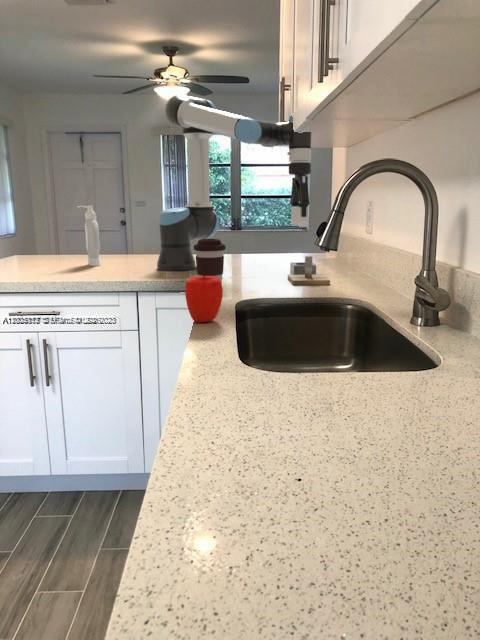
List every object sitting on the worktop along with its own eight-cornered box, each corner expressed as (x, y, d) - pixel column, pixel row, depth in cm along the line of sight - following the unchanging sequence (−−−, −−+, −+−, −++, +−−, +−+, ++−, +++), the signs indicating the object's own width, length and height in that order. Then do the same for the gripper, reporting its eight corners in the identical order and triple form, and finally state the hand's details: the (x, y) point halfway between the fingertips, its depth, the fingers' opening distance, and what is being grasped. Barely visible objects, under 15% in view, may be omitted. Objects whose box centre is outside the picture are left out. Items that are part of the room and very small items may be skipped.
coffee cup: (221, 290, 155) (221, 241, 152) (191, 289, 157) (189, 240, 154) (229, 284, 165) (228, 238, 161) (199, 283, 167) (198, 238, 163)
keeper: (287, 279, 174) (287, 254, 172) (321, 278, 175) (322, 254, 173) (293, 285, 163) (293, 259, 161) (329, 284, 163) (330, 258, 161)
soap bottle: (80, 263, 217) (75, 205, 211) (99, 262, 220) (94, 205, 214) (83, 267, 206) (78, 206, 200) (102, 266, 208) (98, 205, 202)
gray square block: (290, 273, 187) (290, 262, 186) (311, 272, 187) (311, 262, 186) (293, 276, 179) (294, 265, 178) (316, 276, 180) (316, 265, 179)
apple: (214, 327, 113) (213, 279, 110) (179, 324, 116) (177, 277, 113) (228, 318, 121) (228, 273, 118) (195, 315, 124) (194, 271, 121)
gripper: (282, 164, 183) (282, 224, 188) (296, 159, 159) (295, 228, 164) (303, 164, 184) (302, 223, 189) (319, 159, 160) (318, 227, 165)
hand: (298, 225), depth 177 cm, fingers open, 13 cm apart
